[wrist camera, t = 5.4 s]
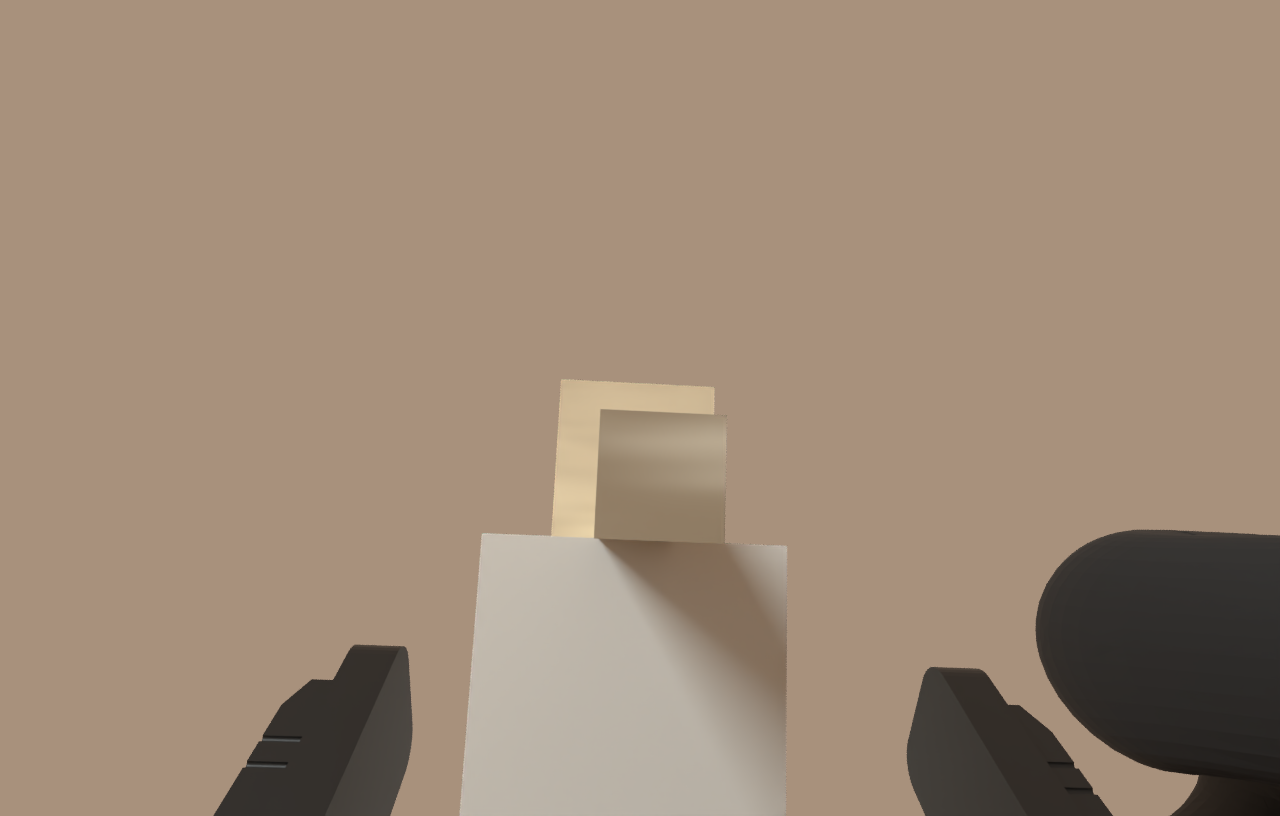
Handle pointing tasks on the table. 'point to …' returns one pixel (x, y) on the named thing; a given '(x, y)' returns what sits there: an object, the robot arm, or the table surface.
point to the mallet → (639, 463)
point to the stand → (627, 679)
